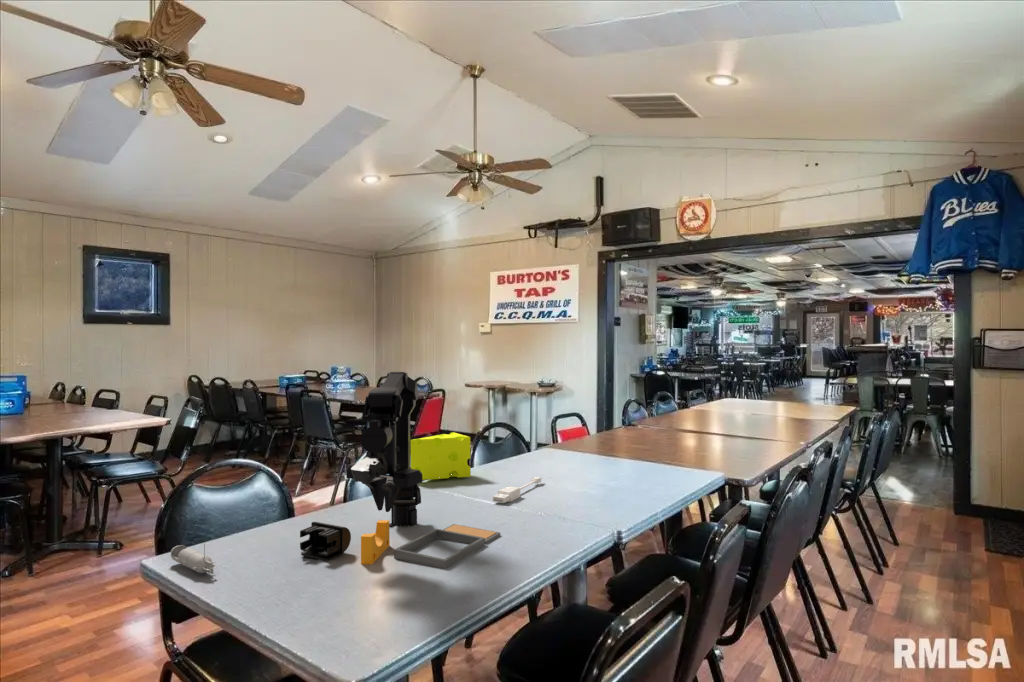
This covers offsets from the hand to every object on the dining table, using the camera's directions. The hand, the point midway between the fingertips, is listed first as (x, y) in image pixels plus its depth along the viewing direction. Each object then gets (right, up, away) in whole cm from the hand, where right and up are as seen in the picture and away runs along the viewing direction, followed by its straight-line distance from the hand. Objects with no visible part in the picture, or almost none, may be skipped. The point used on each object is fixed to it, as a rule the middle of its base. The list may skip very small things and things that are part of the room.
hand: (384, 510), depth 133 cm
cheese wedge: (+4, -11, +83) cm, 84 cm away
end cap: (-15, -12, +4) cm, 20 cm away
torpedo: (-42, -12, -4) cm, 44 cm away
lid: (+19, -11, +16) cm, 27 cm away
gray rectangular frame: (+13, -11, +5) cm, 18 cm away
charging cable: (+33, -12, +58) cm, 68 cm away
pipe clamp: (-4, -12, +3) cm, 13 cm away
